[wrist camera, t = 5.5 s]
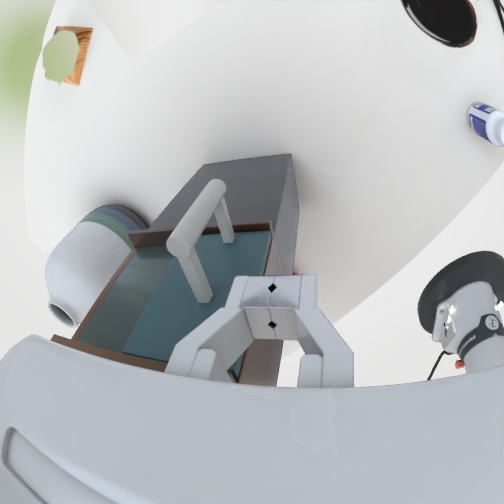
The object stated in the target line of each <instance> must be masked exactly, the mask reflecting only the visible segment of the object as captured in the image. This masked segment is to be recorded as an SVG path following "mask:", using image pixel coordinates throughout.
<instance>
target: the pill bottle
mask: <svg viewBox="0 0 504 504" xmlns="http://www.w3.org/2000/svg"><path fill="white" fill-rule="evenodd" d="M468 123H469V126H470V128H471V129H472V130H473V131H474V132H475V133H476V134H478V135H480V136H481V137H483V138H484V139H486V140H488V141H489V142H491V143H492V144H494V145H496V146H500V147H501V146H504V112H502V111H500V110H498V109H495V108H493V107H490V106H488V105H485V104H483V103H475V104H473V105H472V106H471V107H470V108H469V111H468Z"/></svg>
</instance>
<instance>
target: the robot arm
mask: <svg viewBox="0 0 504 504" xmlns="http://www.w3.org/2000/svg"><path fill="white" fill-rule="evenodd" d="M502 305H503V303H502V301H501V302H500V303H499V305H498V306H497V296H496V295H495V294H494V293H493V290H492V287H491V285H490V284H489V283H487V282H485V281H476V282H472V283H469V284H467V285H465V286H463V287H462V288H460V289H459V290H457V291H456V292H455V293H454V294H453V295H451V296H450V297H449V298H448V299H446V300H444V301H442V302H440V303H439V304H438V305H437V308H436V315H435V321H434V326H433V332H432V340H433V341H435V342H441V343H442V346H443V349H444V351H443V352H442V353H441V354H440V355H439V357H438V360H437V361H436V363H435V365H434V367H433V369H432V371H431V374H430V375H429V377H428V379H427V381H421V382H413V383H405V384H396V385H385V386H371V387H354V356H353V352H352V350H351V349H350V348H349V346H348V345H347V344H346V342H345V341H344V340H343V339H342V337H341V336H340V335H339V333H338V332H337V331H336V329H335V328H334V327H333V326H332V324H331V323H330V322H329V320H328V319H327V318H326V316H325V315H324V314H323V313H322V311H321V310H320V309H319V308H318V292H317V275H316V274H302V275H276V276H260V275H250V276H236V277H235V278H234V281H233V284H232V287H231V290H230V293H229V296H228V299H227V302H226V305H225V308H220V309H219V310H217V311H216V312H215V313H214V314H213V315H211V316H210V317H209V318H208V319H206V320H205V321H204V322H203V323H202V324H200V325H199V326H198V327H197V328H195V329H194V330H193V331H192V332H191V333H189V334H188V335H187V336H186V337H184V338H183V339H182V340H181V341H179V342H178V343H177V344H176V345H175V348H174V350H173V352H172V355H171V357H170V360H169V362H168V364H167V367H166V369H165V372H159V371H154V370H150V369H145V368H141V367H136V366H132V365H128V364H124V363H120V362H116V361H113V360H109V359H105V358H102V357H98V356H95V355H92V354H88V353H85V352H82V351H79V350H76V349H73V348H70V347H67V346H64V345H61V344H58V343H56V342H53V341H50V340H47V339H45V338H43V337H40V336H37V335H30V336H28V337H26V338H24V339H23V340H21V341H20V342H19V343H17V344H16V345H15V346H13V347H12V348H11V349H10V350H9V351H8V352H7V353H6V354H5V356H4V357H3V358H2V360H1V361H0V504H504V327H503V324H502V320H501V316H500V312H499V309H500V308H501V306H502ZM254 339H279V340H298V341H299V343H300V345H301V347H302V349H303V350H304V352H305V355H304V356H303V357H302V358H301V360H300V368H299V376H298V383H297V388H293V387H274V386H260V385H248V384H237V383H233V381H232V379H231V378H230V376H229V374H228V373H227V370H228V369H229V368H230V367H231V365H232V364H233V363H234V362H235V361H236V360H237V359H238V358H239V357H240V356H241V354H242V353H243V352H244V351H245V350H246V349H247V348H248V347H249V345H250V344H251V343H252V342H253V341H254ZM445 353H446V354H447V355H451V354H458V355H459V357H460V359H461V360H457V361H456V364H455V365H456V368H457V369H458V368H461V367H462V368H463V367H464V365H465V369H466V374H463V375H457V376H452V377H446V378H441V379H434V380H430V379H431V377H432V375H433V373H434V371H435V369H436V367H437V365H438V363H439V361H440V359H441V357H442V356H443V354H445Z"/></svg>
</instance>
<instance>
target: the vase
mask: <svg viewBox="0 0 504 504" xmlns="http://www.w3.org/2000/svg"><path fill="white" fill-rule="evenodd" d="M145 229H147V227H146V225H145V224H144V223H143V221H142V220H141V219H140V218H139V217H138V216H137V215H136V214H134V213H133V212H132V211H130V210H128V209H126V208H124V207H121V206H118V205H106V206H102V207H99V208H97V209H95V210H93V211H92V212H90V213H89V214H88V215H87V216H86V217H85V218H84V219H83V220H82V221H80V222H79V223H78V224H77V225H76V226H75V227H74V228H73V229H72V230H71V231H70V232H69V233H68V234H67V235H66V236H65V237H64V238H63V240H62V241H61V242H60V243H59V244H58V245H57V246H56V247H55V249H54V250H53V251H52V253H51V255H50V257H49V259H48V262H47V265H46V271H45V275H46V283H47V287H48V291H49V295H50V300H49V302H48V308H49V309H50V311H51V312H52V314H53V315H54V316H55V317H56V318H57V319H58V320H59V321H60V322H62V323H63V324H65V325H66V326H68V327H70V328H76V327H77V325H79V324H81V323H82V321H83V319H84V318H85V316H86V315H87V313H88V312H89V310H90V309H91V307H92V305H93V304H94V302H95V301H96V299H97V298H98V296H99V295H100V294H101V292H102V291H103V289H104V288H105V286H106V285H107V283H108V282H109V281H110V279H111V278H112V276H113V275H114V274H115V272H116V271H117V269H118V268H119V267H120V265H121V264H122V263H123V261H124V260H125V258H126V257H127V256H128V254H129V253H130V252H131V250H132V249H133V248H134V246H133V244H132V242H131V240H130V238H129V236H128V233H129V232H130V231H136V230H145Z"/></svg>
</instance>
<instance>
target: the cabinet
mask: <svg viewBox="0 0 504 504" xmlns="http://www.w3.org/2000/svg"><path fill="white" fill-rule="evenodd" d="M212 179H219V180H222V181H223V182H224V183H225V185H226V193H225V194H224V198H225V202H226V206H227V209H228V213H229V216H230V220H231V224H232V227H233V231H234V233H239V232H256V231H270V234H271V242H270V247H269V251H268V255H267V260H266V264H265V268H264V273H263V276H276V275H292V274H293V266H294V257H295V248H296V239H297V230H298V220H299V205H298V197H297V190H296V183H295V176H294V169H293V162H292V155H291V154H281V155H271V156H263V157H254V158H246V159H239V160H232V161H225V162H218V163H212V164H206V165H203V166H202V167H201V168H200V169H199V170H198V171H197V173H196V174H195V175H194V176H193V177H192V178H191V179H190V180H189V181H188V183H187V184H186V185H185V186H184V187H183V188H182V189H181V191H180V192H179V193H178V194H177V195H176V196H175V197H174V199H173V200H172V201H171V202H170V203H169V204H168V206H167V207H166V208H165V209H164V210H163V212H162V213H161V214H160V215H159V216H158V218H157V219H156V220H155V221H154V223H153V224H152V225H151V226H150V228H149V229H145V230H136V231H130V232H129V233H128V236H129V238H130V240H131V242H132V244H133V246H134V248H133V249H132V250H131V252H130V253H129V254H128V256H127V257H126V258H125V260H124V261H123V263H122V264H121V265H120V267H119V268H118V269H117V271H116V272H115V274H114V275H113V276H112V278H111V279H110V281H109V282H108V283H107V285H106V286H105V288H104V289H103V291H102V292H101V294H100V295H99V296H98V298H97V299H96V301H95V302H94V304H93V305H92V307H91V309H90V310H89V312H88V313H87V315H86V316H85V318H84V319H83V321H82V323H81V324H80V326H79V327H78V329H77V331H76V332H75V334H74V335H73V337H72V339H67V338H64V337H61V336H58V335H55V334H54V335H53V337H52V339H51V340H50V341H53V342H56V343H58V344H61V345H64V346H67V347H70V348H73V349H76V350H79V351H82V352H85V353H88V354H92V355H95V356H98V357H102V358H105V359H109V360H113V361H116V362H120V363H124V364H128V365H132V366H136V367H141V368H145V369H150V370H154V371H159V372H165V369H166V367H167V364H168V363H167V362H161V361H156V360H151V359H146V358H141V357H136V356H132V355H127V354H123V353H122V350H123V349H124V347H125V345H126V343H127V341H128V339H129V337H130V335H131V333H132V331H133V329H134V327H135V326H136V324H137V322H138V320H139V318H140V316H141V314H142V313H143V311H144V309H145V307H146V305H147V303H148V302H149V300H150V298H151V296H152V295H153V293H154V291H155V289H156V288H157V286H158V284H159V282H160V281H161V279H162V277H163V275H164V274H165V272H166V270H167V269H168V267H169V265H170V263H171V262H172V260H173V258H174V257H175V256H173V255H172V254H171V253H170V252H169V251H168V249H167V246H166V242H167V240H168V238H169V237H170V235H171V234H172V232H173V231H174V229H175V228H176V227H177V225H178V224H179V222H180V221H181V220H182V218H183V217H184V215H185V214H186V213H187V211H188V210H189V208H190V207H191V206H192V204H193V203H194V201H195V200H196V199H197V197H198V196H199V195H200V193H201V192H202V191H203V189H204V188H205V187H206V185H207V184H208V183H209V181H211V180H212ZM208 234H221V233H220V230H219V226H218V223H217V220H216V217H215V213H213V215H212V216H211V218H210V220H209V222H208V223H207V225H206V227H205V229H204V230H203V232H202V234H201V235H208ZM283 341H284V340H279V339H254V341H253V342H252V343H251V344H250V345H249V347H248V348H247V349H246V350H245V351H244V355H243V359H242V363H241V367H240V371H239V375H238V377H233V376H232V374H231V372H230V371H227V373H228V374H229V376H230V378H231V379H232V381H233V383H237V384H248V385H260V386H274V387H276V385H277V379H278V373H279V367H280V361H281V354H282V348H283Z"/></svg>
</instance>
